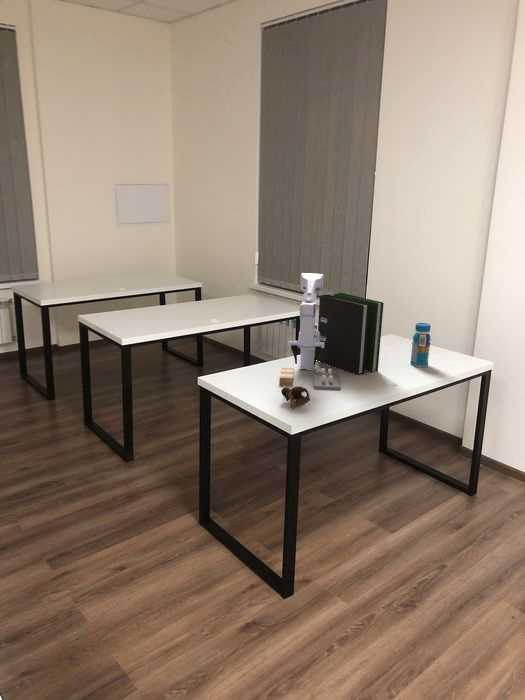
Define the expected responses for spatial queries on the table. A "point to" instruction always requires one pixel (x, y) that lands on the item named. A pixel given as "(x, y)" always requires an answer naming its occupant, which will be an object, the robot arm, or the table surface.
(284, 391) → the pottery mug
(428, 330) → the beverage bottle
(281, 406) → the table surface
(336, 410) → the table surface
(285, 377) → the shelf board
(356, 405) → the table surface
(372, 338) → the binder
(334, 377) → the peg stand
